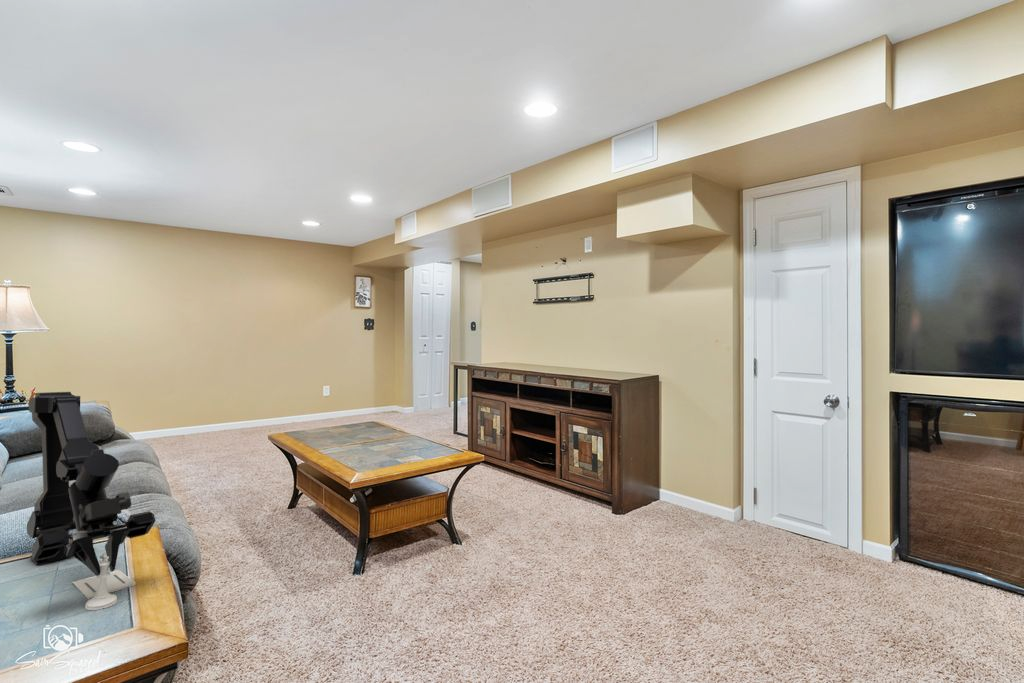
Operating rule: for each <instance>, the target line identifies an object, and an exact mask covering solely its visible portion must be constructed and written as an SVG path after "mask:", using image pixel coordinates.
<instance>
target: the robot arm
mask: <svg viewBox="0 0 1024 683" xmlns="http://www.w3.org/2000/svg"><path fill="white" fill-rule="evenodd" d="M27 406H28V412H29V413H31V419H32V421H33V423H34V424H35V425H36V426H37V427H38V428H39V430H41V444H42V445H41V448H42V452H41V453H42V481H43V482H42V483H43V485H42V486H43V489H42V490H43V491H42V493H41V494H40V496H39V498H38V499H37V501H36V502H35V503H34V506H33V507H34V508H33V509H34V510H33V511H32V512H31V514H30V517H29V519H28V521H27V523H26V534H27V535H28V536H29V537H30V538H31V539H32V540H34V539H35V538H36V539H35V541H34V544H33V545H32V547H31V555H30V556H29V558H30V560H31V561H32V562H33V563H34V564H35V565H37V566H40V565H44V564H48V563H52V562H58V561H60V560H61V561H62V560H65V559H69V558H72V557H73V558H75V559H76V560H78V561H79V562H81V563H82V564H83V565H84V566H85V567H87V568H88V569H89V570H90V571H91V572H92V573H93V574H94V576H98V575H100V565H99V563H100V562H99V559H98V557H97V554H96V550H95V548H94V540H95V539H96V540H97V539H100V538H105V537H106V539H107V541H106V543H105V545H104V549H105V553H107V554H106V556H109V559H107V560H106V561H110V565H109V567H108V569H109V570H110V572H112V571H114V570H116V566H117V560H118V556H119V555H118V554H119V548H120V546H121V544H123V543H124V542H125V540H126V538H128V539H134V538H137V537H142V536H145V535H147V534H148V533H149V532H150V530H151V529H152V527H153V526H154V524H155V522H156V521H157V520H156V517H155V514H154V513H153V512H151V511H143V512H139V513H134V514H130V515H129V517H128V519H127V521H126V522H121V523H116V524H114V522H117V520H118V519H119V516H118V515H120V514H122V511H124V510H128V509H129V508H131V506H132V500H131V496H130V492H123V493H118V494H117V495H116V496H115V497H113V498H110V497H109V498H108V496H107V491H106V489H107V487H109V486H110V484H111V482H112V480H113V478H114V477H115V474H116V472H117V470H118V469H119V465H120V463H119V459H117V458H116V457H115V456H113V455H111V454H108V453H105V451H104V449H100V447H99V445H98V444H95V443H94V442H92V441H90V439H89V436H88V433H87V430H86V425H85V423H84V419H83V415H82V411H81V395H74V394H72V392H71V391H52V392H51V391H50V392H36V394H35V396H34V397H29V400H28V405H27ZM71 481H73V482H72V483H71V484H70V482H71ZM73 530H76V531H74V532H71V533H70V531H73Z"/></svg>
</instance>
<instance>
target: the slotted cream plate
mask: <svg viewBox="0 0 1024 683" xmlns="http://www.w3.org/2000/svg"><path fill="white" fill-rule="evenodd" d="M108 572H109V573H110V575H109V576H108V577H106V583H107V592H108V593H109V594H111V593H113V592H116V591H120V590H123V589H126V588H129V587H132V586H136V584H137V583H136V582H135V581H134V580H133V579H131V578H130V577H129V576H127V575H126V574H125V573H124V572H122V571H121V570H120V569H115V570H114V571H112V572H111V571H108ZM99 581H100V578H96V575H94V576H90V577H86V578H82V579H78V580H76V581H72V583H73V584H74V585H75V586H76V587H77V588H78V589H79V590H80V591H81V592H82V593H83V594H84V595H85V596H86V597H85V596H84V595H83V594H82V595H83V596H84V597H85V598H87V600H90V598H91V599H92V598H94V597H95V596H96V595H97V591H98V587H99ZM72 583H71V584H72ZM73 584H72V585H73ZM74 585H73V586H74ZM75 586H74V587H75ZM76 587H75V588H76ZM77 588H76V589H77ZM78 589H77V590H78ZM79 590H78V591H79ZM80 591H79V592H80ZM81 592H80V593H81Z"/></svg>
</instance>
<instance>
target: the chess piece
mask: <svg viewBox="0 0 1024 683" xmlns="http://www.w3.org/2000/svg"><path fill="white" fill-rule="evenodd" d="M106 554H107V553H106V552H103V553H102V555H100V556H99V559H101V560H102V561H100V562H99V565H100V575H98V576H96V575H95V576H96V578H100V581H99V587H98V591H97V595H96V596H95V597H94V598H91V599H88V600H87V601H86V603H85V606H84V607H85V609H86V610H88V611H98V610H103V608H104V609H108V608H110V607H111V606H113V605H116V603H117V602H118V596H117V595H116V594H112V593H108V592H107V583H106V577H108V576H109V575H110V573H109V572H110V571H108V570H109V565H110V561H108V560H107V559H109V556H107V555H106Z"/></svg>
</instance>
